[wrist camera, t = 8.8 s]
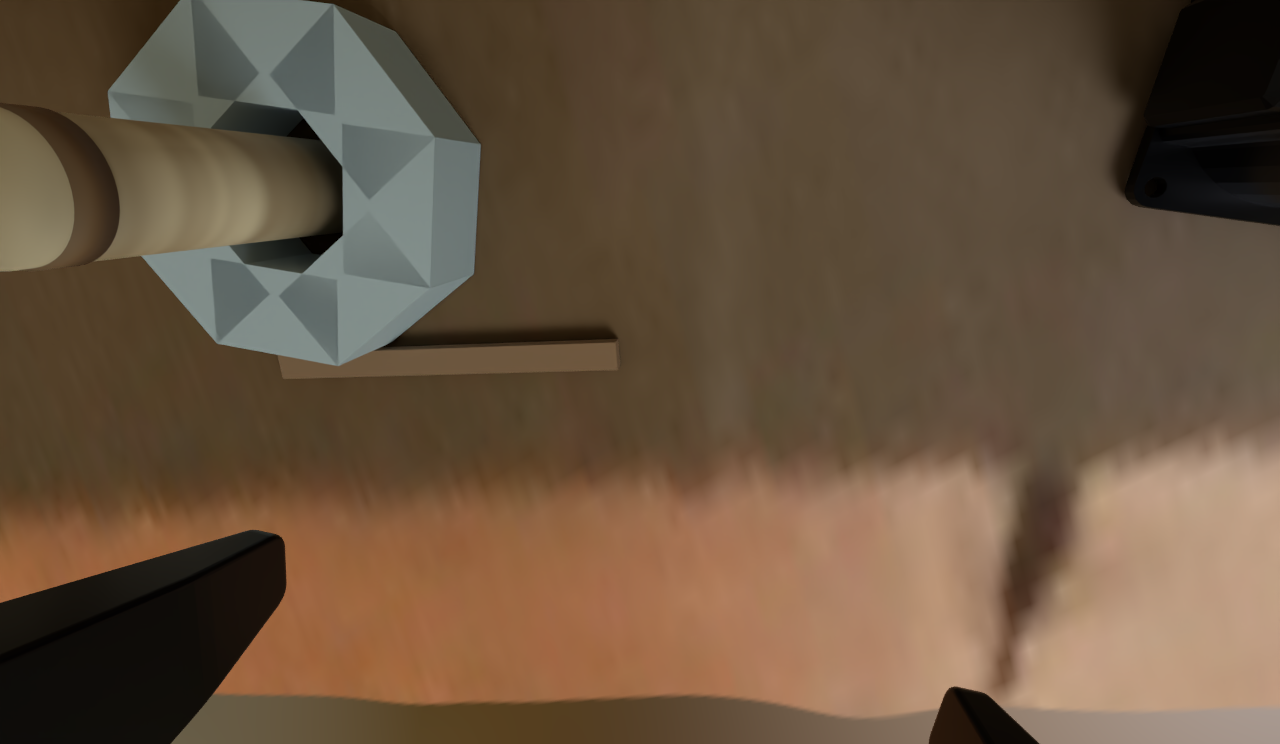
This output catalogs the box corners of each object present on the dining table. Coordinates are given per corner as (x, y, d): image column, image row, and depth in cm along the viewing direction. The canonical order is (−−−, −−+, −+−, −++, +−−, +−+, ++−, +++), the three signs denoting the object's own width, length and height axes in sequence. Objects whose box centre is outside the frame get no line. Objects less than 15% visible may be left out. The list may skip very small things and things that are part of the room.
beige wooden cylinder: (379, 146, 20) (38, 110, 10) (378, 239, 20) (64, 286, 11) (294, 134, 20) (-113, 87, 10) (297, 226, 21) (-76, 260, 11)
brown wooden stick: (618, 338, 20) (615, 342, 20) (620, 365, 20) (617, 369, 20) (287, 350, 22) (277, 354, 22) (292, 375, 22) (283, 379, 22)
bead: (486, 42, 18) (439, 16, 15) (469, 356, 21) (427, 382, 18) (189, 6, 19) (93, -25, 16) (212, 310, 22) (134, 328, 19)
